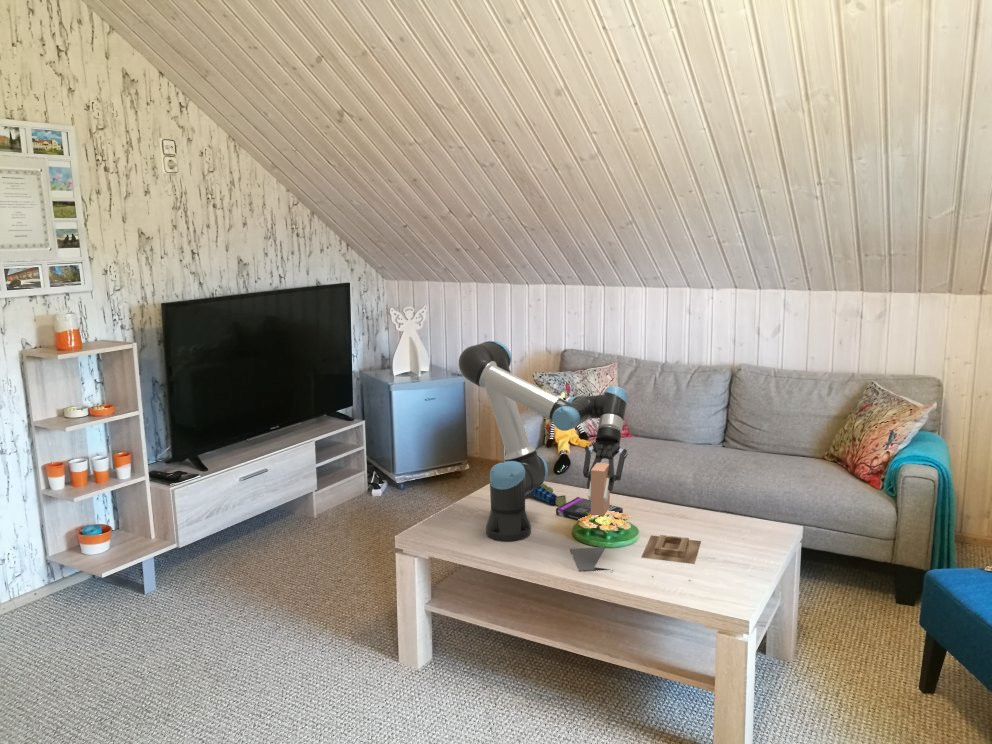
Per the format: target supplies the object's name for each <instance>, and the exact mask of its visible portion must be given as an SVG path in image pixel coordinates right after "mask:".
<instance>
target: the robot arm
mask: <svg viewBox="0 0 992 744" xmlns="http://www.w3.org/2000/svg"><path fill="white" fill-rule="evenodd" d="M459 355H460V356H459V358H458V369H459V371H460V373H461V375H462V376H463V377H464V378H465V379H466V380H467V381H469V382H470V383H472V384H473V385H476V386H478V387H479V388H480V389H481V388H482V389H485V391H486V394H487V397H488V400H489V404H490V407H491V409H492V413H493V416H494V418H495V419H494V420H495V423H496V425H497V428H498V430H499V434H500V437H501V440H502V443H503V446H504V450H505V452H506V454H505V456H504V458H503V460H504V461H503V462H499V463H496V464H494V465H493V466H492V467H491V469H490V471H489V492H490V495H489V497H490V513H489V516H488V519H487V523H486V527H485V532H486V533H485V534H486V535H488V536H489V538H490V539H493V540H495V541H500V542H502V541H503V542H515V541H519V540H524V539H526V538H528V537H530V535H531V533H532V525H531V523H530V519H529V517H528V514H527V511H526V497H525V495H527V494H528V495H530V494H529V493H530V492H532V491H533V490H535V489H537V488H538V487H540V486H541V485H542V484H543V483H544V484H545V482H546V480H547V478H548V472H549V468H548V464H547V461H546V460H545V459H544V458H543V457H542V456H541V455H539V454H538V452H537V450H536V447H533V446H531V445H530V441H529V439H528V436H527V432H526V428H525V426H524V423H523V420H522V418H521V414H520V411H519V408H518V404H520V405H521V406H523V407H526V408H528V409H529V410H531V411H533V412H535V413H537V414H540V415H541V416H543V417H544V418H547V419H548V420H551V421H552V423H553V425H554V427H556V429H558V430H559V431H563V432H566V431H570V430H574V429H575V428H576V427H578V426H579V425H581V424H582V423H585V422H586V421H588V420H590V419H593V420H594V419H599V421H598V426H597V431H596V438H595V442H594V443H593V444H592V445H591V446H588V445H585V446H584V451H585V455H584V461H583V468H582V469H583V470H582V474H583V476H584V477H583V478H585V479H586V478H587V481H586V487H587V489H588V493H587V497H588V500H591V469H592V468H593V467H594V466H595V464H596V463H602V460H605V459H606V460H608V463H609V477H610V479H609V478H607V480H606V486H605V491H604V497H603V498H604V501H605V502H607V500H608V494H609V491H610V492H612V491H613V489H614V484H615V482H616V481H617V482H618V481H619V482H620V481H621V480H622V476H623V475H622V474H623V469H624V464H625V460H626V459H627V457H628V455H629V453H628V450H627V448H621V445H620V444H621V439H622V432H623V426H624V419H625V414H626V408H627V405H628V403H627V401H628V392H627V391H626V390H625V389H624V388H623V387H620V386H617V385H610V386H608V387H606V388H605V389H604V392H603V394H598V395H597V394H596V395H584V396H583V395H577V396H574V397H570V398H569V399H568V400H565V399H563V398H561V397H559V396H557V395H555V394H553V393H551V392H549V391H547V390H545V389H543V388H542V387H539V386H537V385H535V384H533V383H531V382H529V381H527V380H526V379H523V378H521V377H519V376H517V375H515V374H513V373H512V372H511V370H510V367H511V363H512V354H511V352H510V350H509V348H508V347H507V345H505V343H502V342H500V341H497V340H487V341H484V342H481V343H479V344H475V345H471V346H467V348H465V349H464V350H462V352H461V354H459ZM517 403H518V404H517ZM593 452H595V458H594V460H593V462H592V465H591V459H592V456H591V455H592V454H593ZM618 454H619V456H618V457H619V458H618V461H617V465H616V466H617V467H616V472H615V467H614V466H615V464H614V463H615V462H614V461H615V460H614V457H616V455H618ZM590 465H591V466H590ZM528 495H527V496H528ZM488 536H487V537H488Z"/></svg>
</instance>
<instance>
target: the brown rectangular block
mask: <svg viewBox="0 0 992 744" xmlns="http://www.w3.org/2000/svg"><path fill="white" fill-rule="evenodd" d="M590 469H591V468H590ZM607 478H609V479H610V477H609V462H608V463H607V462H600V463H596V464H595V466H594V467H593V468H592V469H591V515H599V516H604V515H605V513H606V512H607V510H608V509H609V507H610V505H611V503H610V500H611V499H610V497H611V495H610V494H611V491H609V494H608V500H607V502H605V501H604V498H603V497H604V491H605V486H606V480H607Z"/></svg>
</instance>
